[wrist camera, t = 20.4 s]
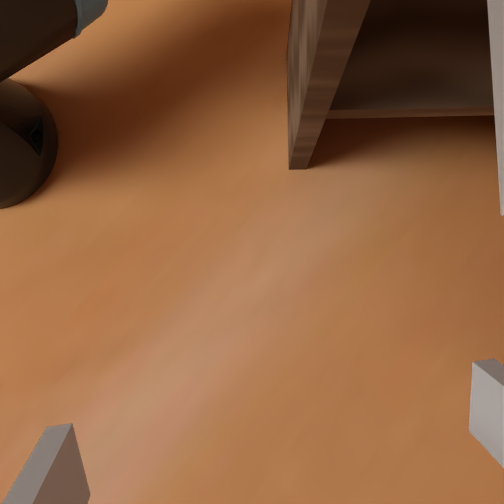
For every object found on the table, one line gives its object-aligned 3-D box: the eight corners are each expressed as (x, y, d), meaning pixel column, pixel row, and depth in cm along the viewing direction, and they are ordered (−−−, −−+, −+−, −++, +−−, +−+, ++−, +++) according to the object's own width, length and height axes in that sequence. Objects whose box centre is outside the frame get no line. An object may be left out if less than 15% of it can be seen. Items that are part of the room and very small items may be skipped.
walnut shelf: (520, 165, 44) (1093, -98, 14) (288, 169, 44) (343, -72, 14) (512, 46, 45) (1024, -440, 15) (286, 52, 45) (333, -400, 15)
